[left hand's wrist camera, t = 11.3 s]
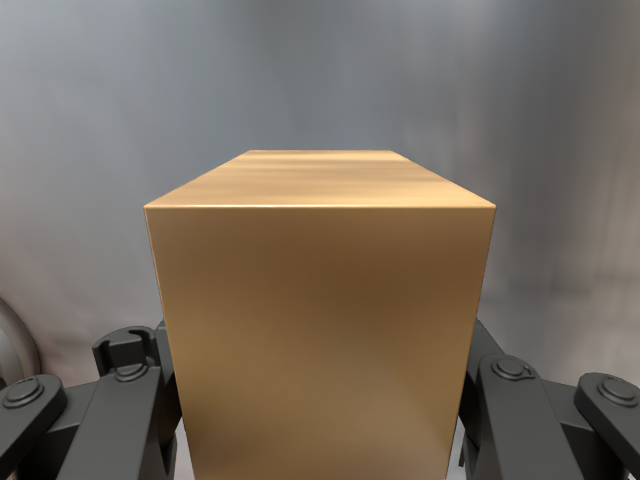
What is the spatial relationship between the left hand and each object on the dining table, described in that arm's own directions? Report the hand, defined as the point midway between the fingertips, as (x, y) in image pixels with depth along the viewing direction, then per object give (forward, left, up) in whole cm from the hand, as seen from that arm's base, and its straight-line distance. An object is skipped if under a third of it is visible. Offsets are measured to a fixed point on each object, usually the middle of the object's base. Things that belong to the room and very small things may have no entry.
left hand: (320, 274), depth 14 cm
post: (+26, -19, -1) cm, 32 cm away
